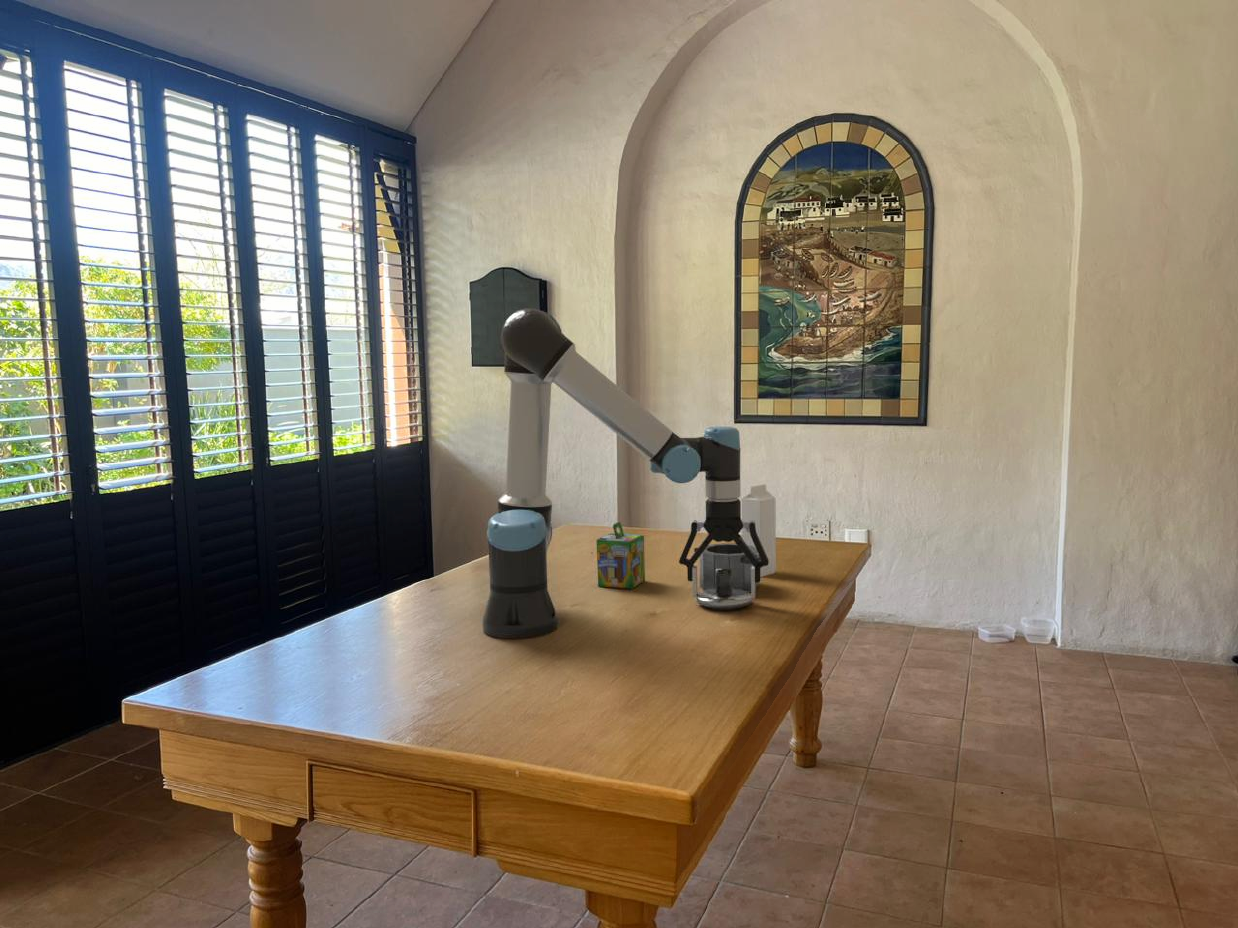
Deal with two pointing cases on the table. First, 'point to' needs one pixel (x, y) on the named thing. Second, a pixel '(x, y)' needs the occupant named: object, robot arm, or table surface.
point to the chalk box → (620, 559)
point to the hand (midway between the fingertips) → (724, 596)
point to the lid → (724, 593)
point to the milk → (761, 523)
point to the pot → (726, 565)
